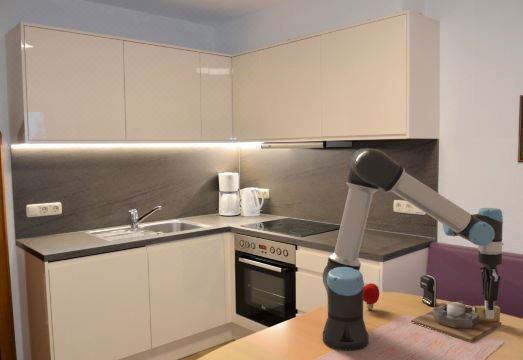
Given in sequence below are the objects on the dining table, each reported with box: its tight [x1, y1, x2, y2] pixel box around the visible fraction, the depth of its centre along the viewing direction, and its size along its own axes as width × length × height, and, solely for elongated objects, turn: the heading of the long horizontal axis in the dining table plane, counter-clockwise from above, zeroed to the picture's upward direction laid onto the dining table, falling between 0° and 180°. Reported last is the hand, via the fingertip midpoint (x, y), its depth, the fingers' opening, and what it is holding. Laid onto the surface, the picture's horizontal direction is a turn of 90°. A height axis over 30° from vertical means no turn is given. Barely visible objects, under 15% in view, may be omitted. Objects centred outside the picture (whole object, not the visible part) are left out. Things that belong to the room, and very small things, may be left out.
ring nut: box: [432, 302, 501, 328], centre depth 163 cm, size 22×14×5 cm, turn 87°
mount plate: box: [410, 300, 502, 343], centre depth 163 cm, size 22×22×7 cm
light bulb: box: [363, 283, 380, 311], centre depth 178 cm, size 9×7×10 cm
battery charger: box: [419, 274, 438, 307], centre depth 184 cm, size 7×4×11 cm, turn 12°
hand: (489, 317), depth 161 cm, fingers closed
